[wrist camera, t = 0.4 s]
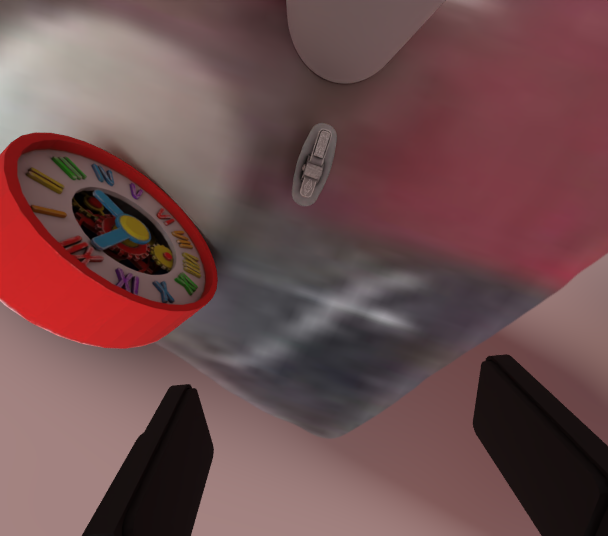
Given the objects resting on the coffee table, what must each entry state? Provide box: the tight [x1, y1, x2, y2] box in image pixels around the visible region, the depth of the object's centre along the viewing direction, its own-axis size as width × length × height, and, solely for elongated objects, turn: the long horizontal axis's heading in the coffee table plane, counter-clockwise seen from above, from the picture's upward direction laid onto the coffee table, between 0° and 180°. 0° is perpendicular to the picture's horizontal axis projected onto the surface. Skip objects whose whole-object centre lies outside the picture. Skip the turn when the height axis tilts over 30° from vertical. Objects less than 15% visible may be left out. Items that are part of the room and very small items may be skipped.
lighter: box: [292, 123, 337, 206], centre depth 31 cm, size 8×3×10 cm, turn 161°
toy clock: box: [0, 133, 218, 348], centre depth 28 cm, size 20×6×20 cm, turn 38°
